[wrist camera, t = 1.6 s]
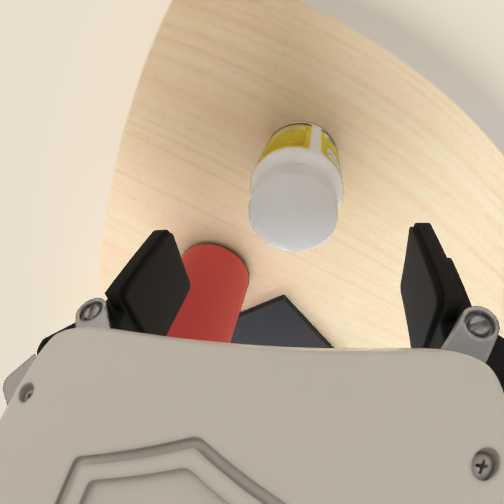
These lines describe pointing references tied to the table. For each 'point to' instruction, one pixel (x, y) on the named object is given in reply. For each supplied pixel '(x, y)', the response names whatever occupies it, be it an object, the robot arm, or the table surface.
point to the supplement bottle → (296, 188)
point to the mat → (277, 327)
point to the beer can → (211, 294)
